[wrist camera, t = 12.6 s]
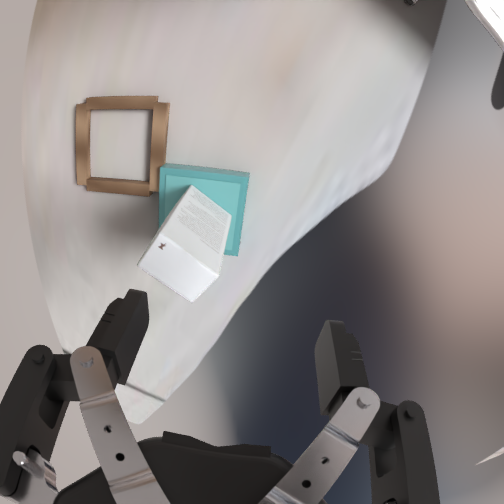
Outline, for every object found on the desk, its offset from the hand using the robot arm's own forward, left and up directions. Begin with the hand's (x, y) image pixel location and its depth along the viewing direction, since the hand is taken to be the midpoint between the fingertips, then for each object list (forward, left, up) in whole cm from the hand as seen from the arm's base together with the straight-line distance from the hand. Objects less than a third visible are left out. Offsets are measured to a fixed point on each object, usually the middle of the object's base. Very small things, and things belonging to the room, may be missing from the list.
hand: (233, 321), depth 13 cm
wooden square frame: (-2, -16, -24) cm, 29 cm away
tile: (+5, -5, -24) cm, 25 cm away
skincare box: (+5, -5, -22) cm, 23 cm away
